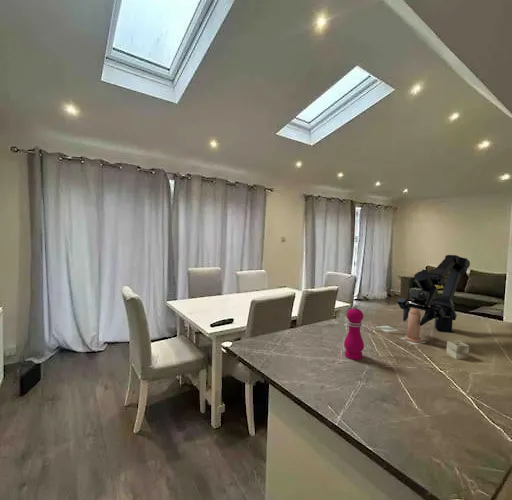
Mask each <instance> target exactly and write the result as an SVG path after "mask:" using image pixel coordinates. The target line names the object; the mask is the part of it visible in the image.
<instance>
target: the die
mask: <svg viewBox="0 0 512 500" xmlns="http://www.w3.org/2000/svg"><path fill="white" fill-rule="evenodd" d="M469 352H470V345H468V344H466V343H464V342H463V341H459V340H447V341H446V355H448V356H451V357H452V358H453V359H456V360H462V359H463V360H469V356H470V355H469V354H470V353H469Z"/></svg>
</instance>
